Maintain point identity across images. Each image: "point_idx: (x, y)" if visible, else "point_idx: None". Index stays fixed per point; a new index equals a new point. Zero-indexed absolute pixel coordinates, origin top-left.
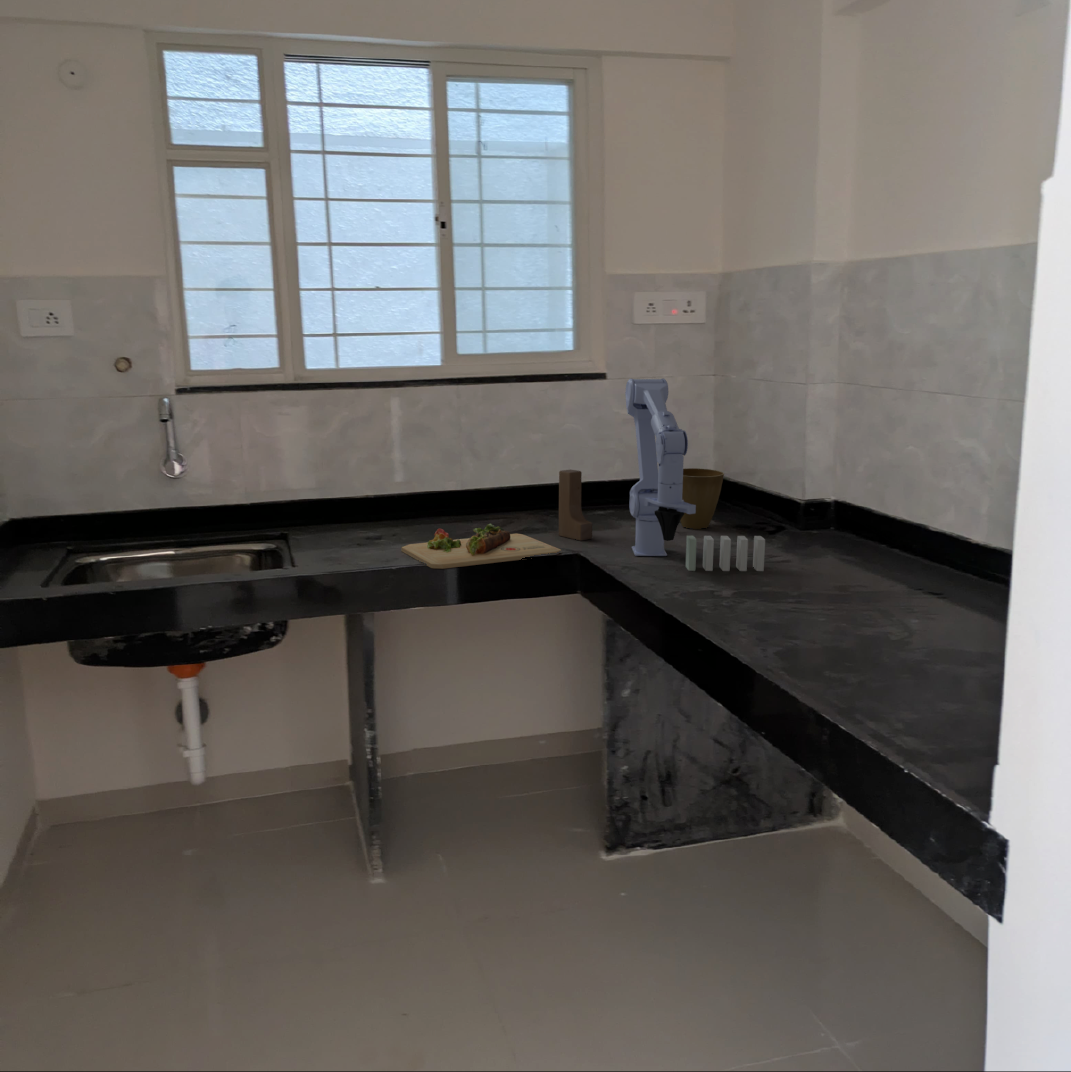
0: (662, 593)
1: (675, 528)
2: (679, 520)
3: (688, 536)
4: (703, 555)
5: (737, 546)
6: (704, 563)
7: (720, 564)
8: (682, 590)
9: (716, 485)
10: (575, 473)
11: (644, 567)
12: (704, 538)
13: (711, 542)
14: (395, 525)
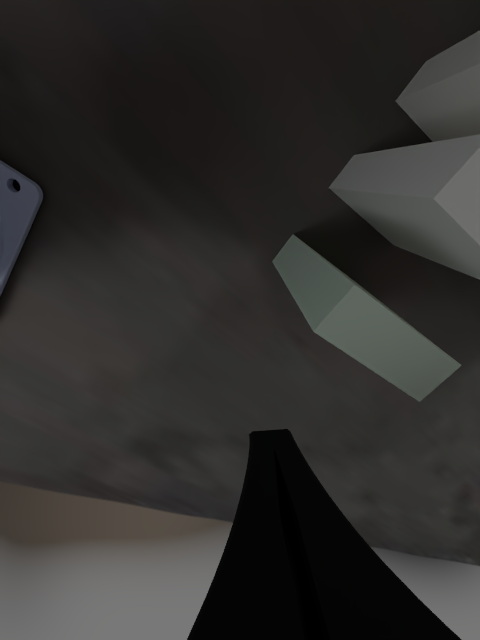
0: (442, 520)
1: (323, 503)
2: (394, 584)
3: (345, 340)
4: (364, 200)
5: None
6: (377, 223)
7: (428, 120)
8: (471, 475)
9: None
10: None
11: (186, 405)
12: (447, 223)
13: None
14: None
